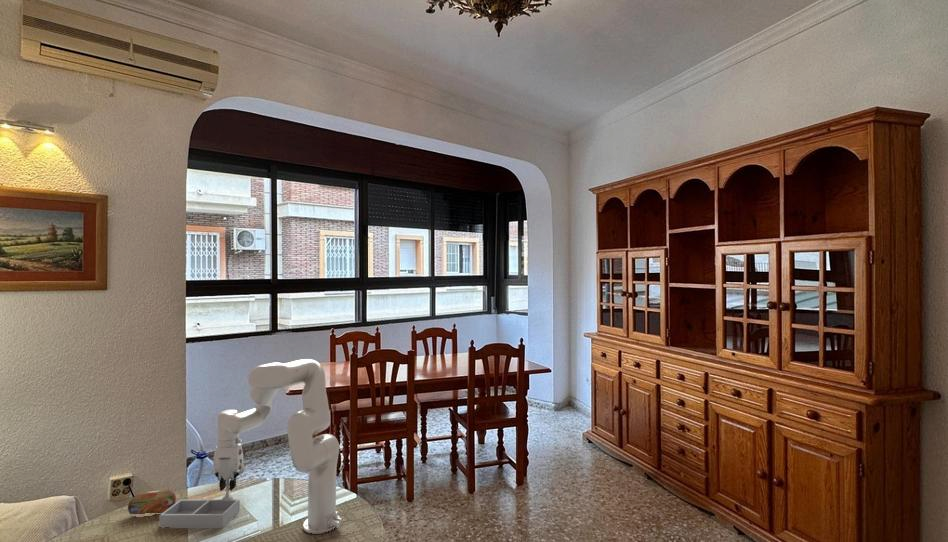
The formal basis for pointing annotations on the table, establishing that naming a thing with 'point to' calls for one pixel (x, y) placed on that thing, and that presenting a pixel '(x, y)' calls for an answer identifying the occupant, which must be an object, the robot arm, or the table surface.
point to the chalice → (226, 477)
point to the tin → (151, 502)
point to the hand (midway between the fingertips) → (227, 488)
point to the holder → (200, 513)
